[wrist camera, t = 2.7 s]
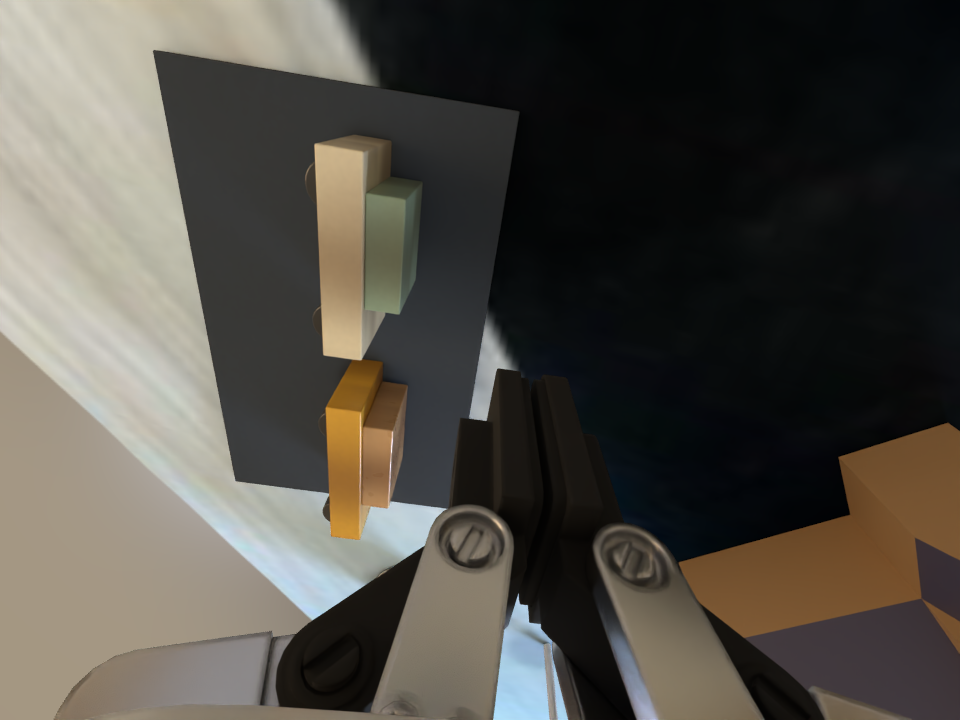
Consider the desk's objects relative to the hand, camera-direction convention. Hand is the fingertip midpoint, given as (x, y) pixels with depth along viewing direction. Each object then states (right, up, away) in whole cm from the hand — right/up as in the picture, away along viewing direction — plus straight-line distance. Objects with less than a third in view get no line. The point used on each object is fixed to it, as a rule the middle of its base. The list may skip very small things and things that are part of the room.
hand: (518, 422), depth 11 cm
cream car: (-6, +8, +12) cm, 15 cm away
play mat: (-9, +3, +15) cm, 18 cm away
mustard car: (-8, -3, +18) cm, 20 cm away
